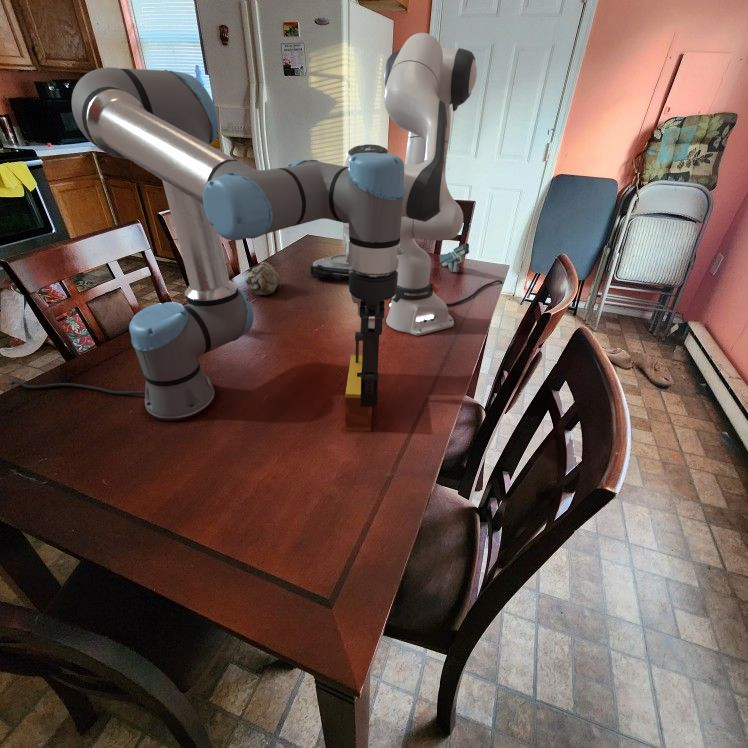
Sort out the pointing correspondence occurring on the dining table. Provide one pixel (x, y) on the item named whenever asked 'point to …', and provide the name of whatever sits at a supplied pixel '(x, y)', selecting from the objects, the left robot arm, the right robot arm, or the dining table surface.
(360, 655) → the dining table surface
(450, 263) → the toy gun
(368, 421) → the chest
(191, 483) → the dining table surface
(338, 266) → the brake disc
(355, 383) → the lid
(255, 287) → the lumpy boulder
